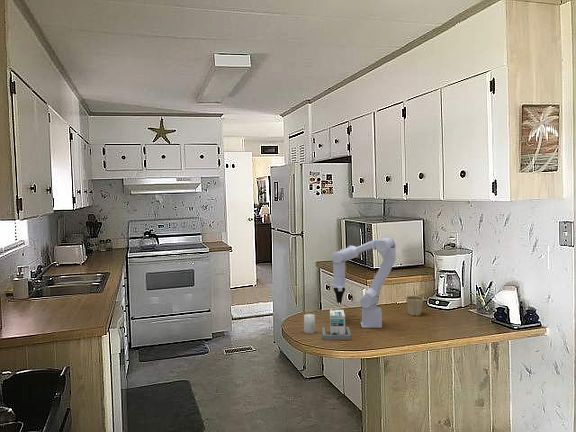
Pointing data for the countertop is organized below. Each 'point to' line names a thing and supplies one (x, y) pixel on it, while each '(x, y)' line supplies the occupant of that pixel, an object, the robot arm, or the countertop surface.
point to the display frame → (336, 337)
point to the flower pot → (414, 305)
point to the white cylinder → (309, 323)
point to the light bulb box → (337, 322)
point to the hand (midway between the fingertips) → (339, 302)
